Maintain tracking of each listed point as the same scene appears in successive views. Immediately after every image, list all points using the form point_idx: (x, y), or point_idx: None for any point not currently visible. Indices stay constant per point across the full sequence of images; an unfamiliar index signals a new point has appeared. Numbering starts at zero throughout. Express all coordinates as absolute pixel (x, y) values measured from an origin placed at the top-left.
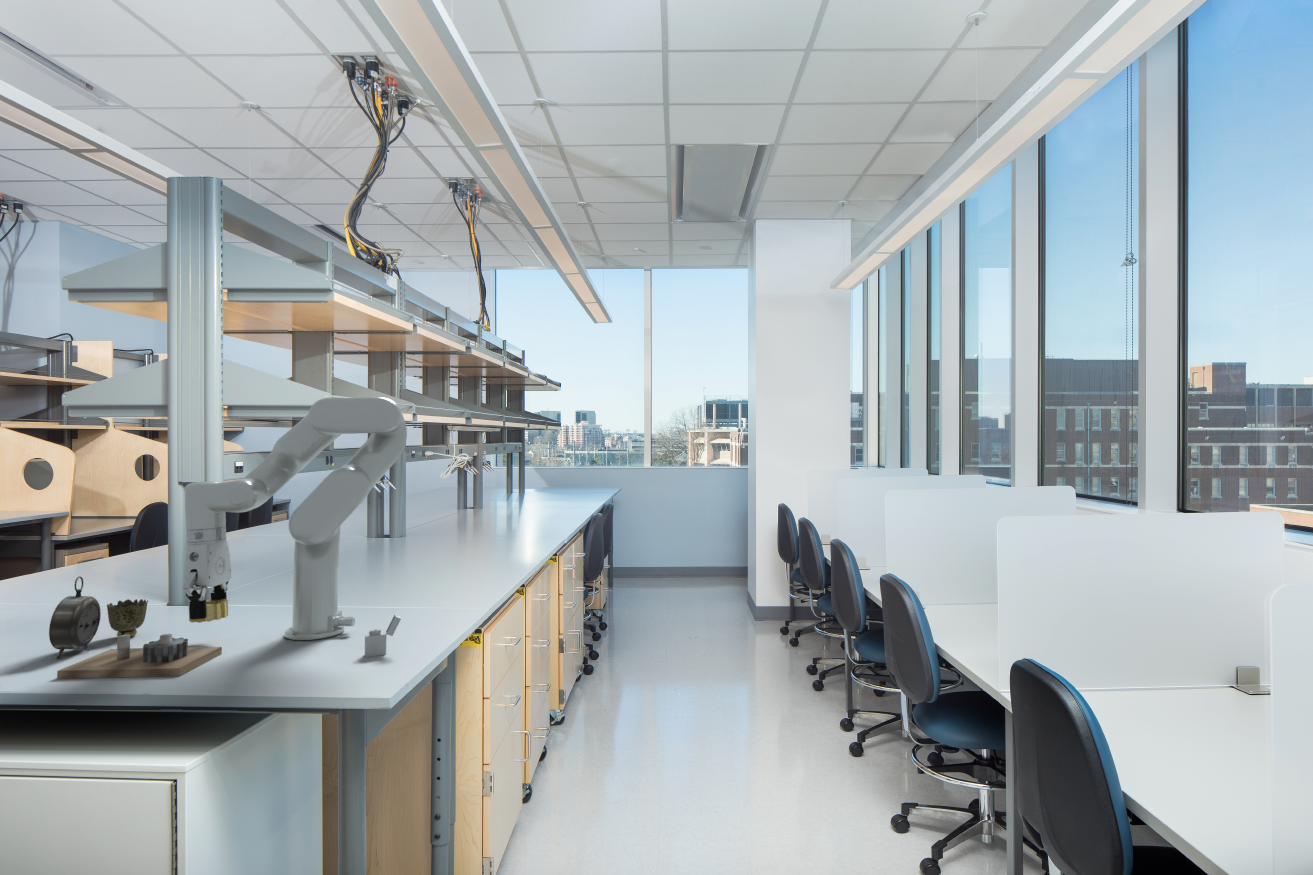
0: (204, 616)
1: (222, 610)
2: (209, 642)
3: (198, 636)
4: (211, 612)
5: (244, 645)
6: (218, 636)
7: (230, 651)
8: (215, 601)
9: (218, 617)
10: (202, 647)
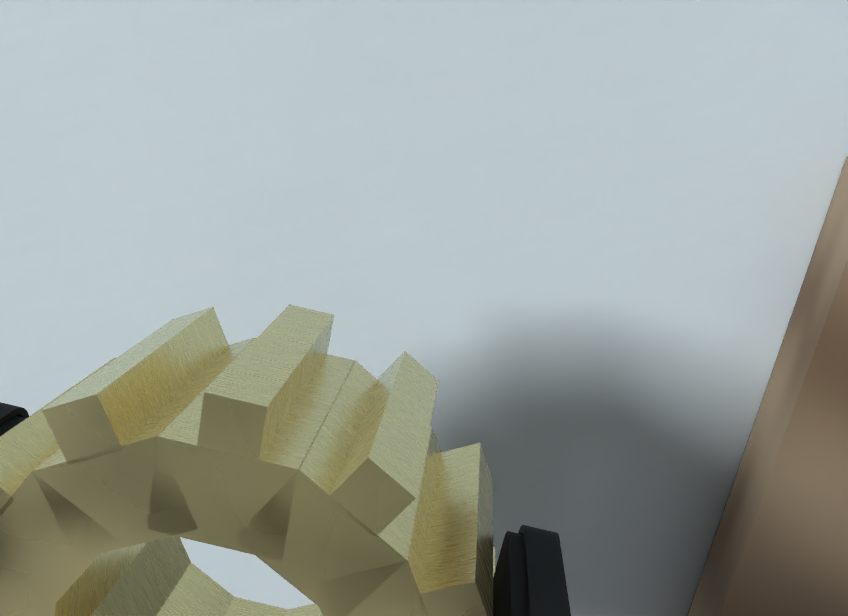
0: (557, 547)
1: (299, 385)
2: None
3: None
4: (433, 504)
5: (576, 17)
6: None
7: (779, 94)
8: (63, 592)
9: (423, 382)
10: (826, 349)
